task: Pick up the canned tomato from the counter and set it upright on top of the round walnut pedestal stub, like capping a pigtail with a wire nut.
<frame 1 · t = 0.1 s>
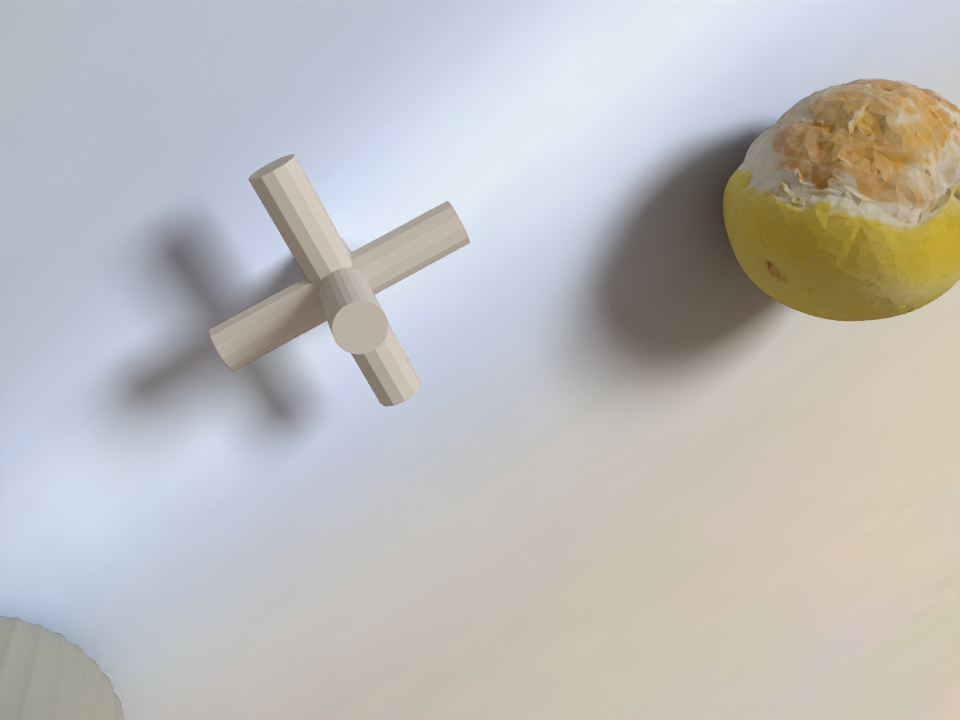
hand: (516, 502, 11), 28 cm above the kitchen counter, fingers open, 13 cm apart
fruit: (783, 179, 42), on the kitchen counter
pipe connector: (326, 252, 37), on the kitchen counter
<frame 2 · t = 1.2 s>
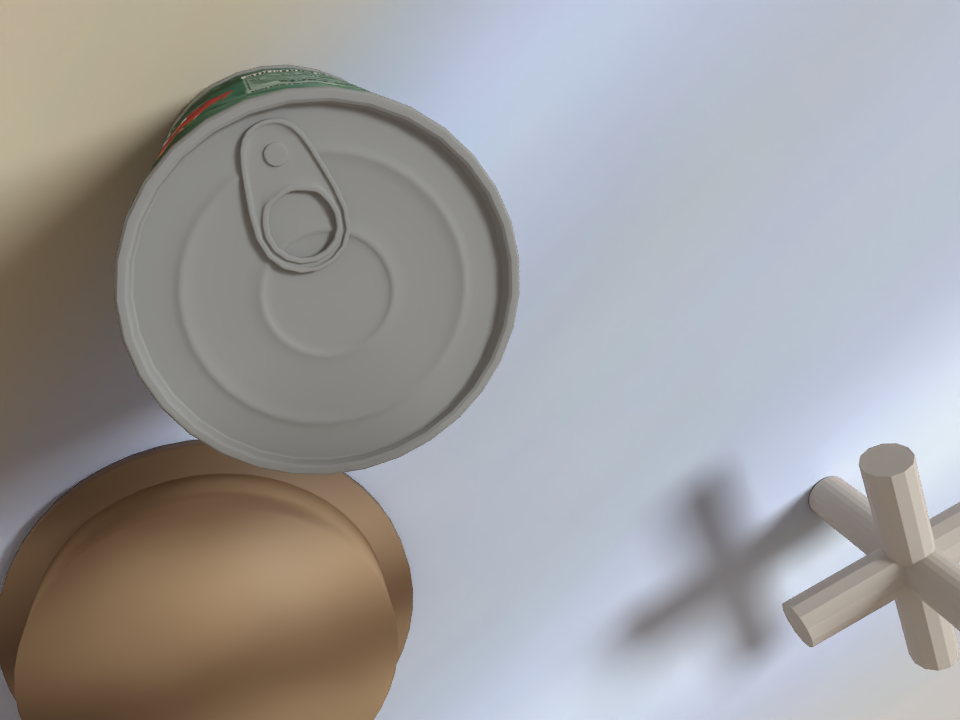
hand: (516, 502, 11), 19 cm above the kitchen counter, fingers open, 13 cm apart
pipe connector: (824, 493, 37), on the kitchen counter
pedestal: (217, 615, 31), on the kitchen counter
canned tomato: (289, 197, 27), on the kitchen counter
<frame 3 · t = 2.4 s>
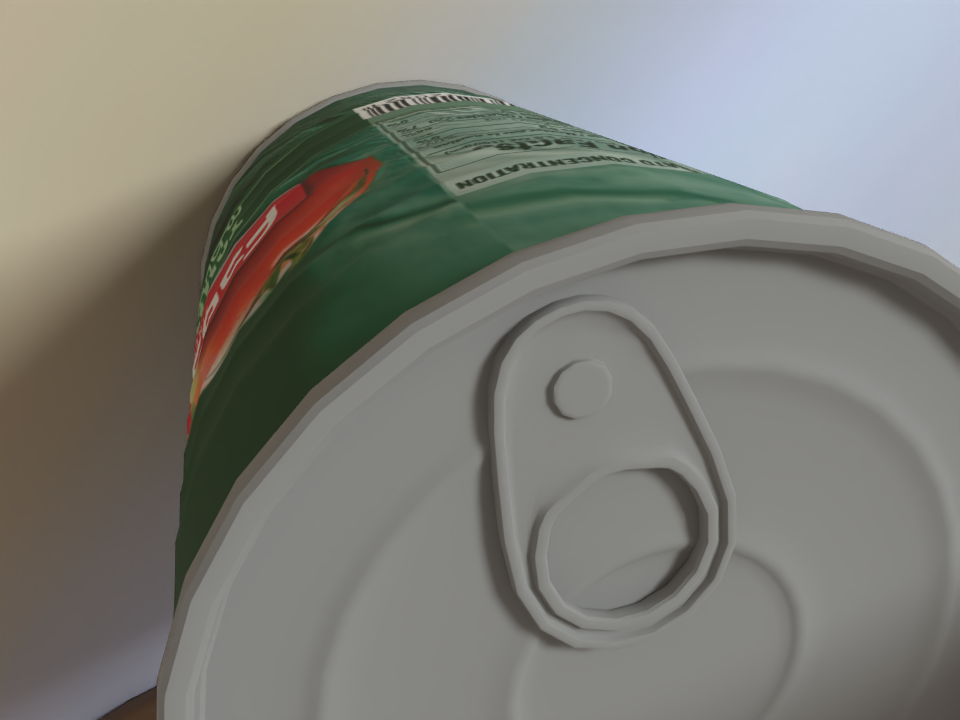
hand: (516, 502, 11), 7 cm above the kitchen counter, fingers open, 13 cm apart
canned tomato: (411, 288, 17), on the kitchen counter
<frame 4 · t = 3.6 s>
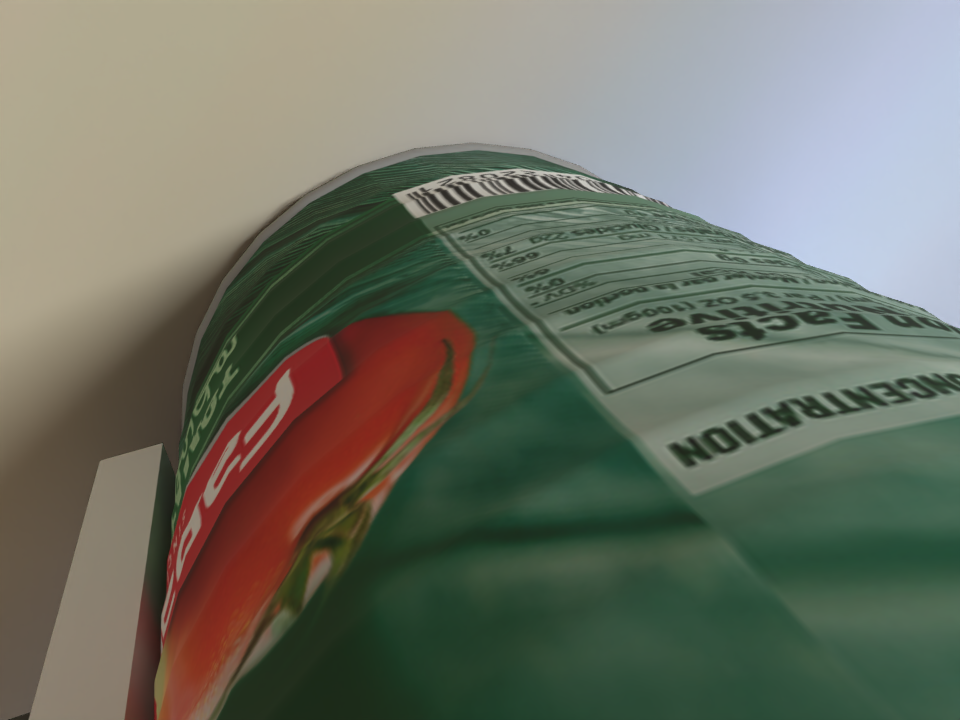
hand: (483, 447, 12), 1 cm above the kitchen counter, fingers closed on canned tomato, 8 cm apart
canned tomato: (456, 404, 13), on the kitchen counter, touching gripper
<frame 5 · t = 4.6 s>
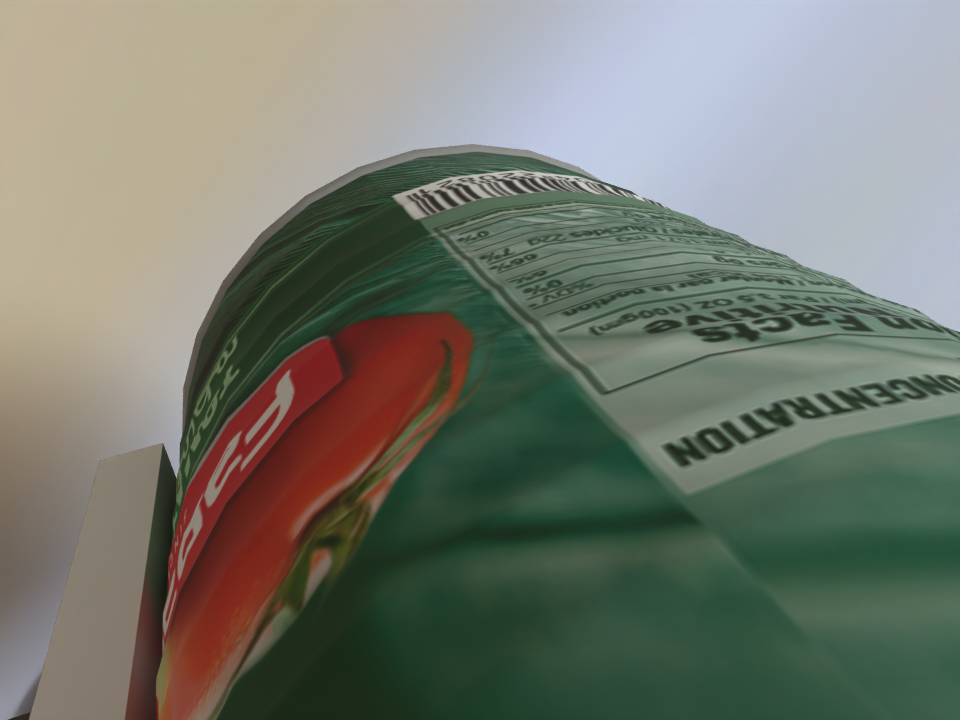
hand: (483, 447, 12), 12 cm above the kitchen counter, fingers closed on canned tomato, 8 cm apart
canned tomato: (456, 405, 13), point 10 cm above the kitchen counter, touching gripper
when the fingers open (6 cm above the kitchen counter, at t = 8.4 s): canned tomato drops 1 cm, resting on pedestal.
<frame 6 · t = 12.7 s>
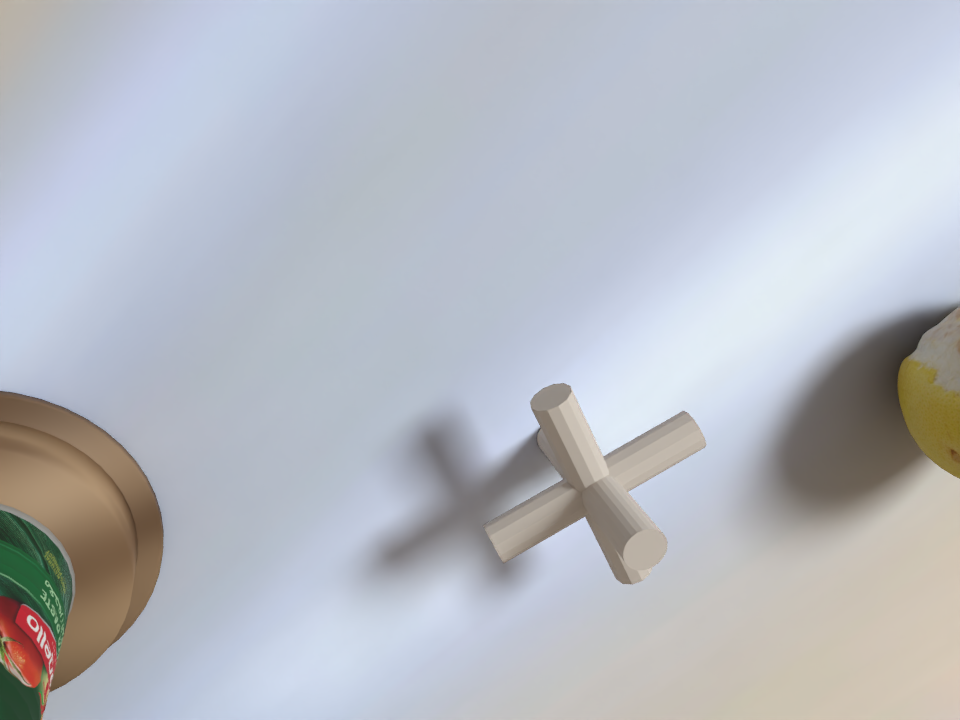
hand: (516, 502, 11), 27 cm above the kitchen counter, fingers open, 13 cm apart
fruit: (940, 350, 47), on the kitchen counter
pipe connector: (553, 434, 42), on the kitchen counter
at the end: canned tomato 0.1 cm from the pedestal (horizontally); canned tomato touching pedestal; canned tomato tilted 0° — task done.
